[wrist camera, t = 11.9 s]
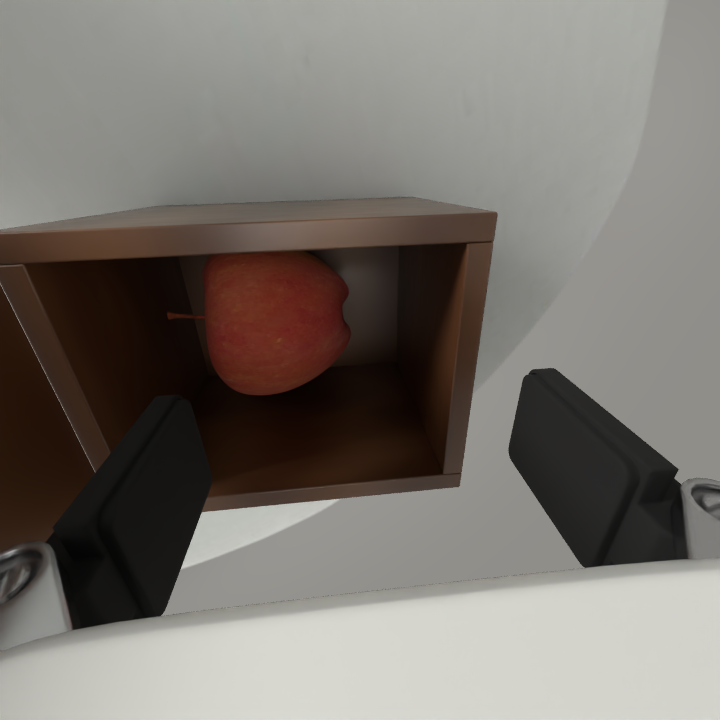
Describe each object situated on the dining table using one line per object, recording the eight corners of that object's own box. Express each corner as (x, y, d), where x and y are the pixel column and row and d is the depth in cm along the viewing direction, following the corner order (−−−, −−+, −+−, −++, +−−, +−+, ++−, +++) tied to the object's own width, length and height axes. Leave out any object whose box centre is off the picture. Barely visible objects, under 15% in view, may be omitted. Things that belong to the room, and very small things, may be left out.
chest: (411, 196, 19) (498, 211, 10) (405, 366, 24) (460, 487, 15) (155, 206, 18) (-27, 233, 9) (202, 380, 23) (118, 520, 14)
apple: (325, 282, 22) (189, 289, 20) (348, 202, 16) (146, 201, 13) (345, 394, 21) (198, 416, 18) (381, 361, 14) (154, 388, 12)
